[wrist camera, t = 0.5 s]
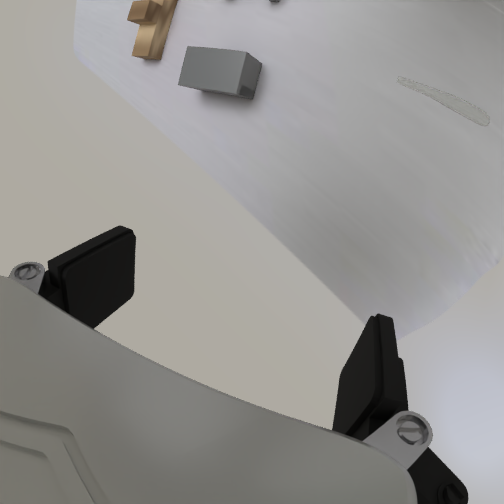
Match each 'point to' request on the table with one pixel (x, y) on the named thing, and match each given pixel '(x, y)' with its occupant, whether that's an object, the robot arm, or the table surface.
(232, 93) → the channel bracket
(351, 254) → the table surface
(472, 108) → the butter knife
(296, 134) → the table surface
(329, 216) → the table surface
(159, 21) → the slat
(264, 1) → the table surface
